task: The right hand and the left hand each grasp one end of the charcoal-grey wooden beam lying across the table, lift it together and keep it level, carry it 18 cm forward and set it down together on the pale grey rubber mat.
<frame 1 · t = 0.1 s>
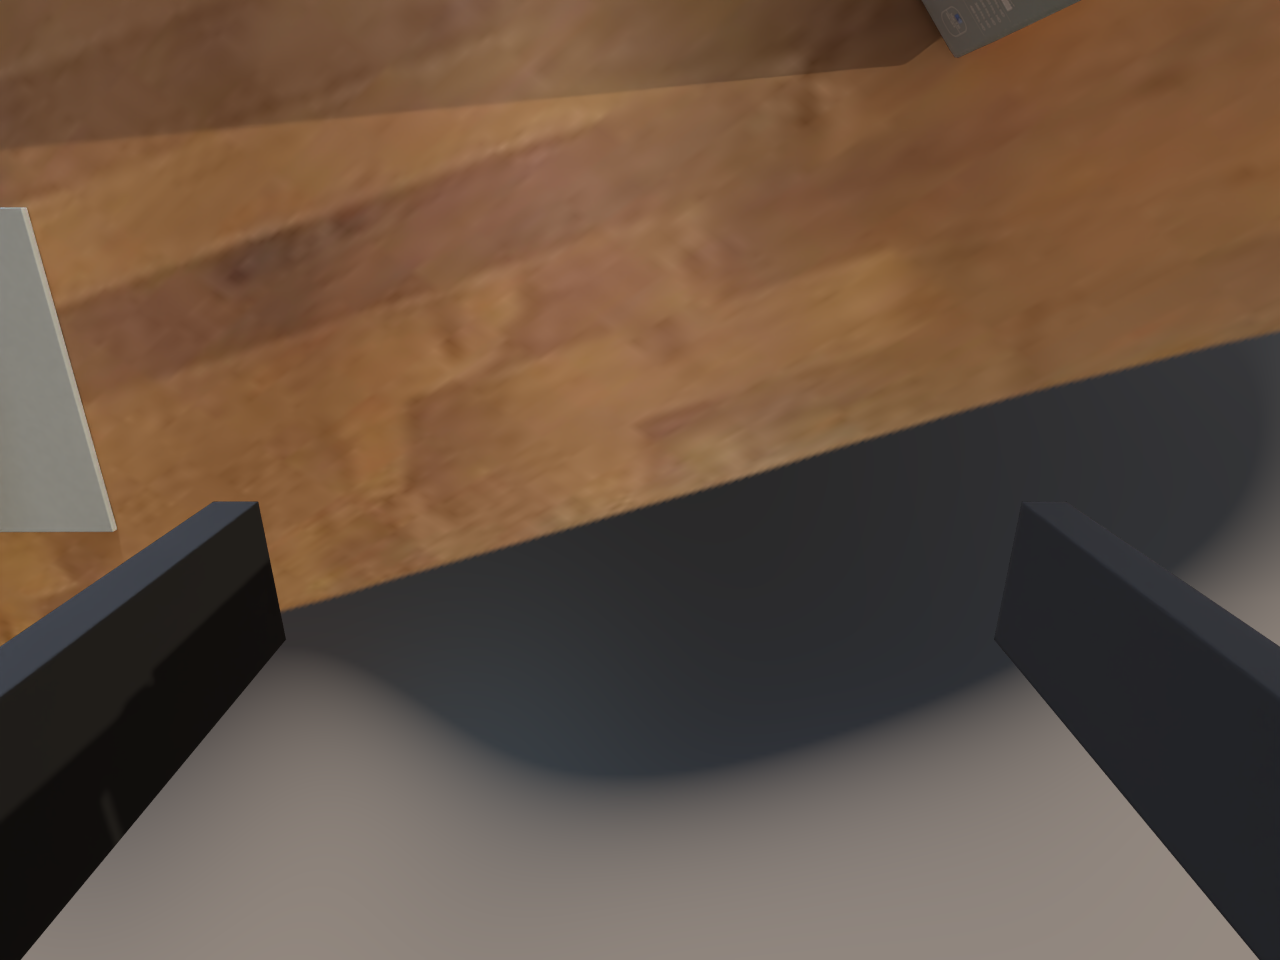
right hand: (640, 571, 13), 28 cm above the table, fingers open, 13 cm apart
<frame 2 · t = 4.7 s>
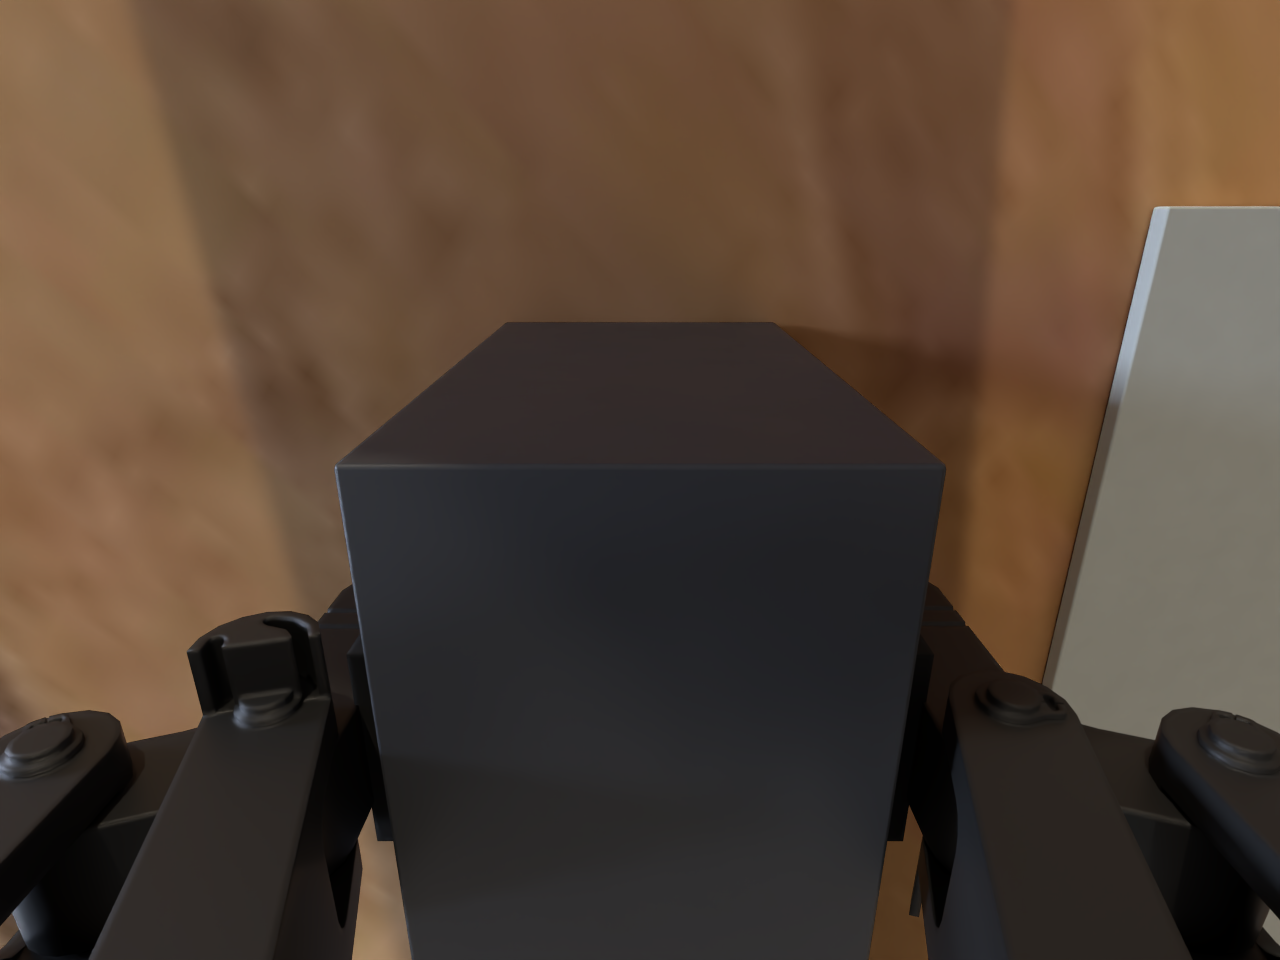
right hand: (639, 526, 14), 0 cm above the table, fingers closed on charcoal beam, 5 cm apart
charcoal beam: (640, 937, 19), on the table, touching right hand
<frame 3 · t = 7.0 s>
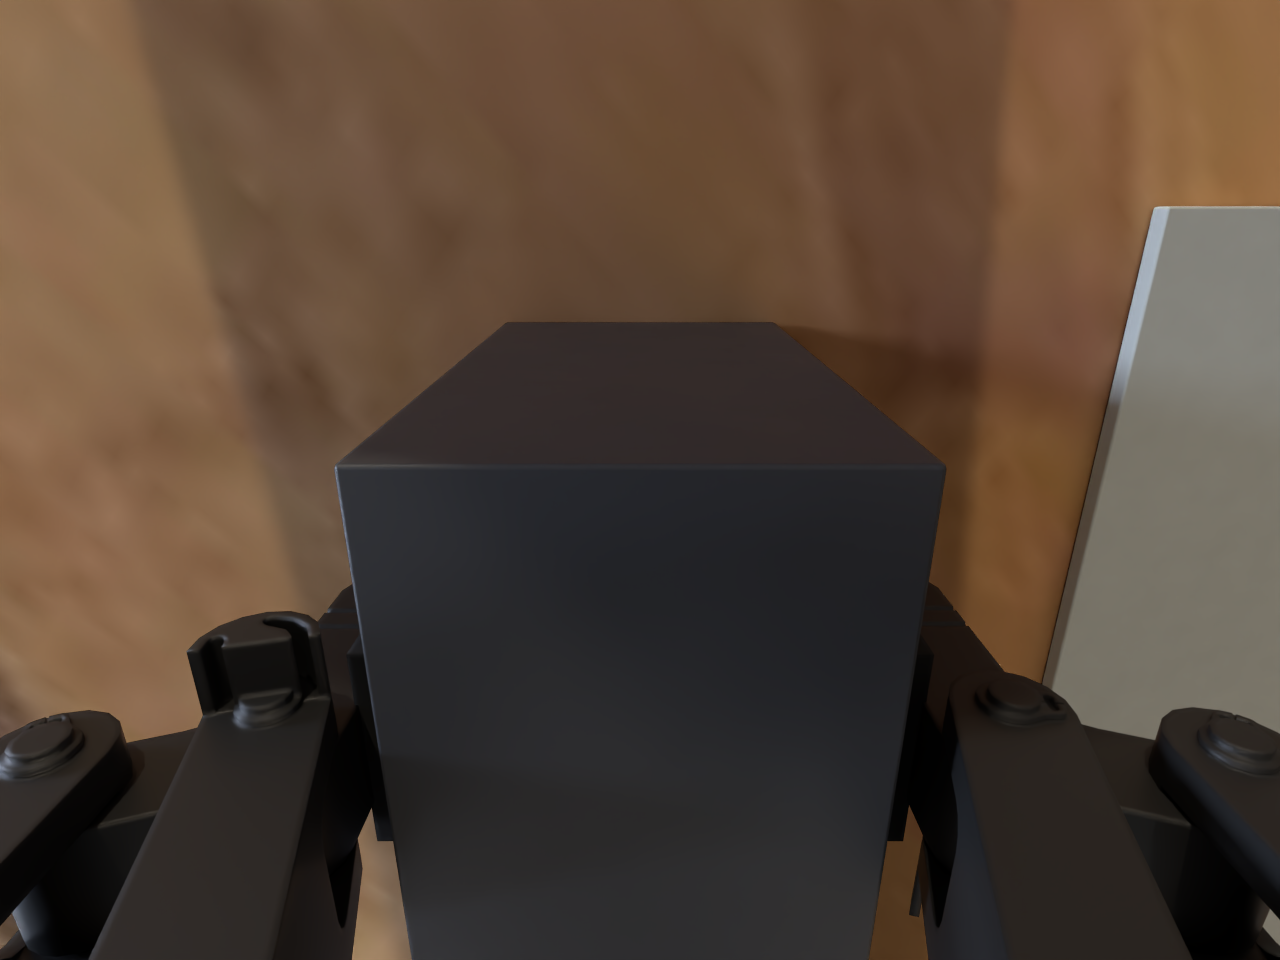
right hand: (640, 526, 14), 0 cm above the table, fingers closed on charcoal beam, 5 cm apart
charcoal beam: (640, 938, 19), on the table, touching right hand, left hand
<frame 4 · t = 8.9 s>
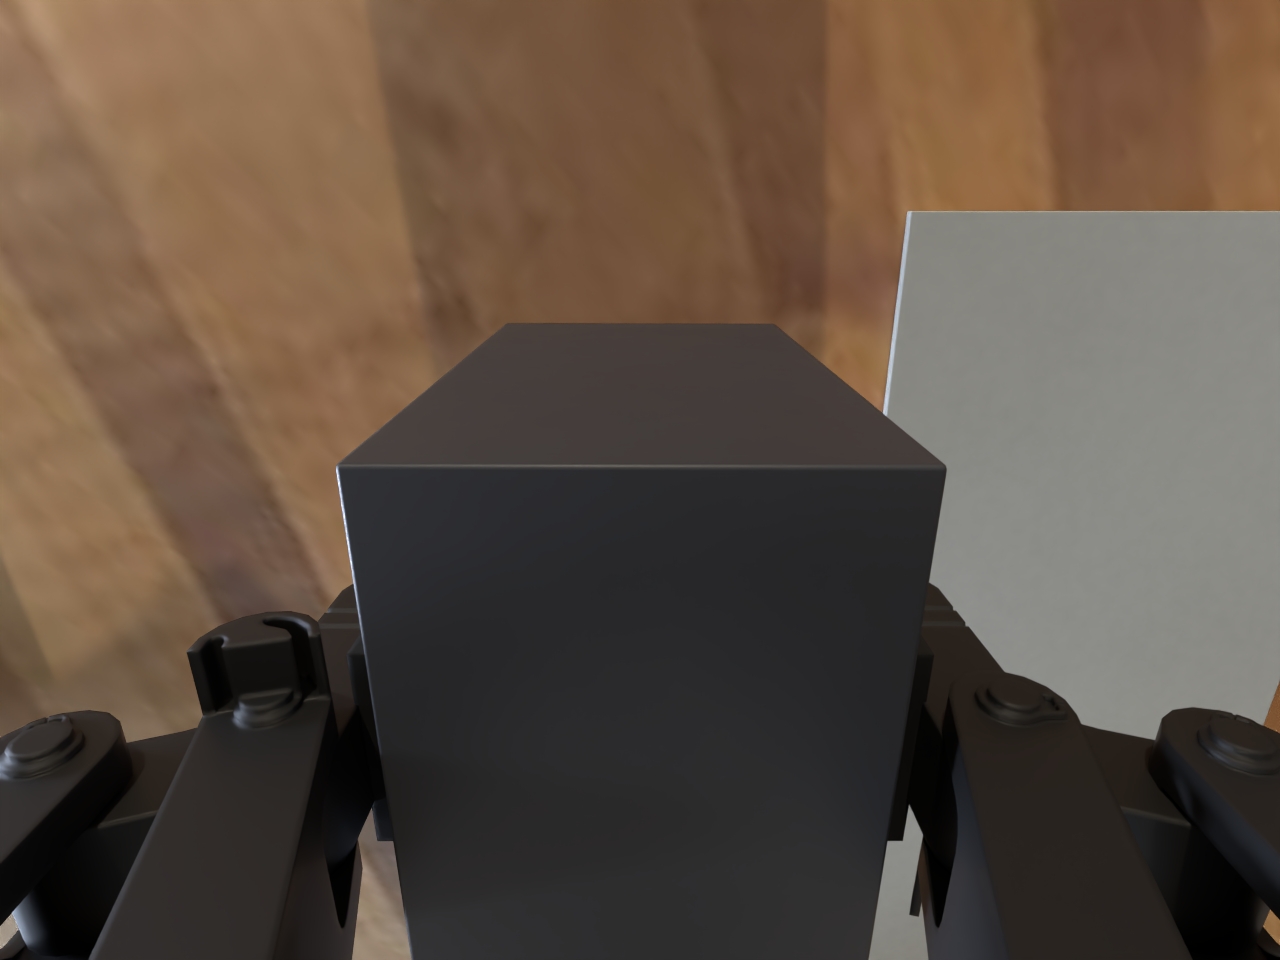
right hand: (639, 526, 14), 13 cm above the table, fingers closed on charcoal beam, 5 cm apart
grey rubber mat: (1064, 664, 30), on the table
charcoal beam: (639, 939, 19), point 12 cm above the table, touching right hand, left hand
when the left hand's fingers open (2 cm above the table, at t = 13.4 s): charcoal beam drops 1 cm, resting on grey rubber mat.
when the right hand's fingers open (2 cm above the table, at t = 13.4 s): charcoal beam drops 1 cm, resting on grey rubber mat.
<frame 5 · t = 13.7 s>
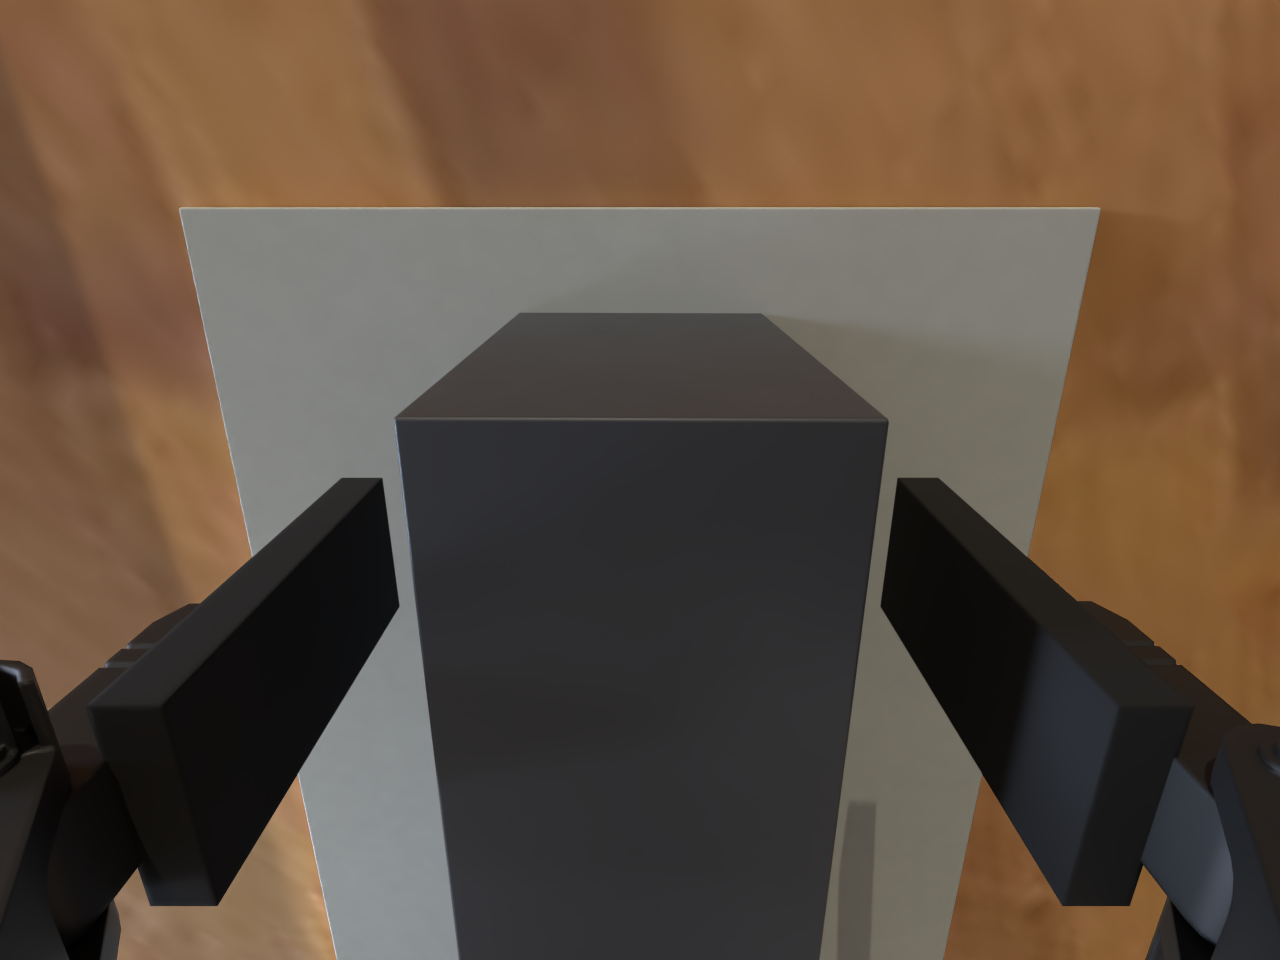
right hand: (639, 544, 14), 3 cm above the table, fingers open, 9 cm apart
grey rubber mat: (640, 876, 21), on the table
charcoal beam: (638, 889, 20), resting on grey rubber mat
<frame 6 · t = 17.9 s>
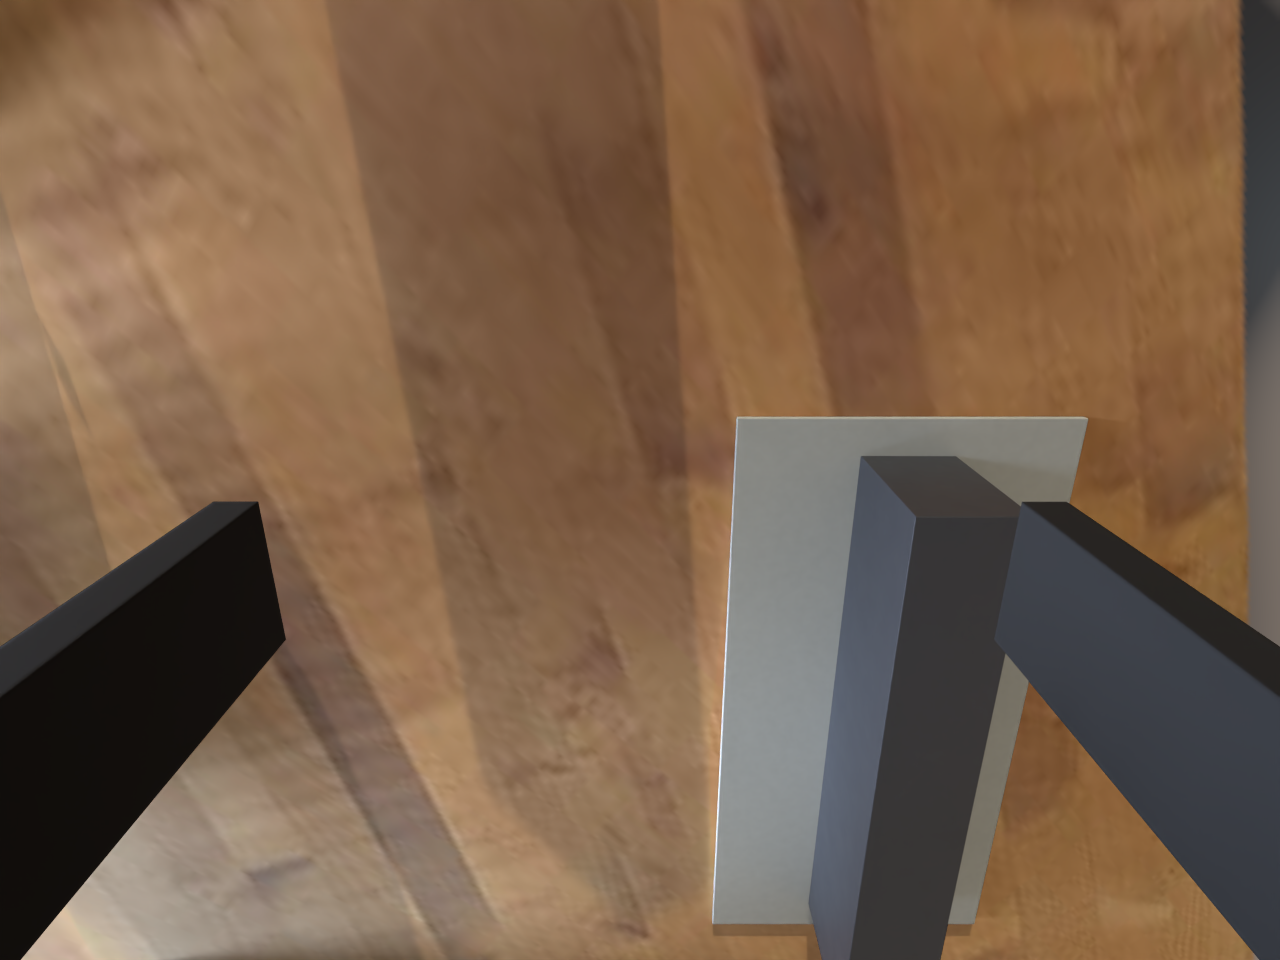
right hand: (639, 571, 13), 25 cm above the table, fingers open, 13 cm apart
grey rubber mat: (871, 704, 43), on the table
charcoal beam: (872, 708, 43), resting on grey rubber mat
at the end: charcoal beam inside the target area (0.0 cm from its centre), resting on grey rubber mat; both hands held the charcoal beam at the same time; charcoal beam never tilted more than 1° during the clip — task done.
